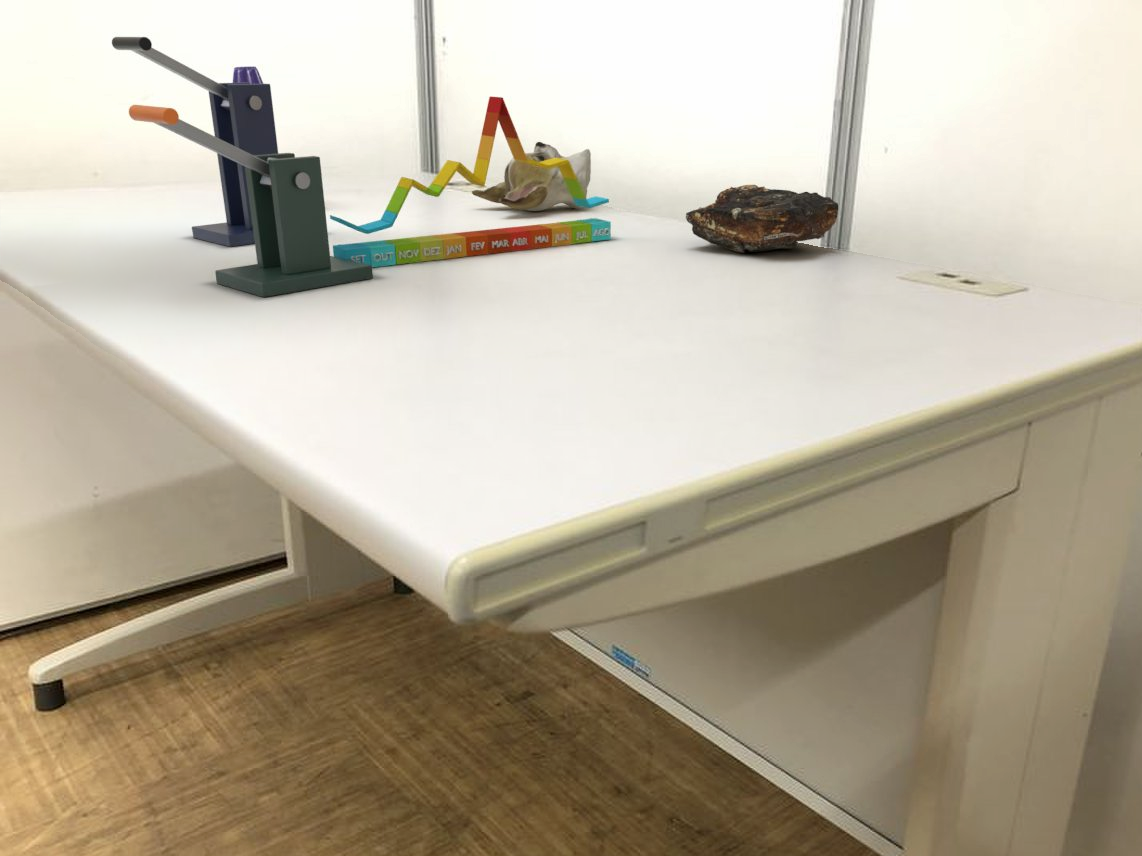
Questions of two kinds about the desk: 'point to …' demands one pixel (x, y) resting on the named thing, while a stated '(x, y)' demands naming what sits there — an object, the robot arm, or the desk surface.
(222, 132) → the back bracket
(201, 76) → the back lever
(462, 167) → the chart
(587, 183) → the ceramic sculpture
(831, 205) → the fossil rock
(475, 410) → the desk surface
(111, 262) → the desk surface
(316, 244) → the front bracket
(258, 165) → the front lever
